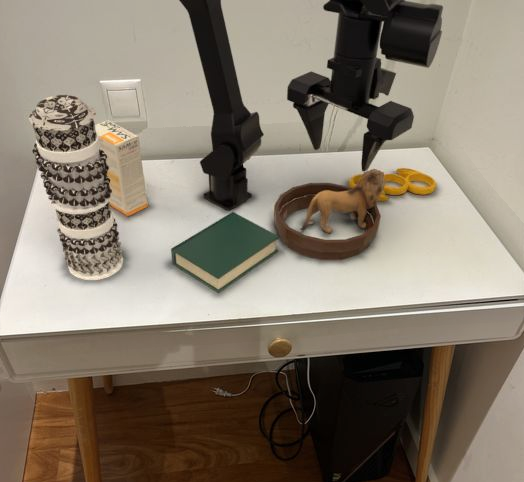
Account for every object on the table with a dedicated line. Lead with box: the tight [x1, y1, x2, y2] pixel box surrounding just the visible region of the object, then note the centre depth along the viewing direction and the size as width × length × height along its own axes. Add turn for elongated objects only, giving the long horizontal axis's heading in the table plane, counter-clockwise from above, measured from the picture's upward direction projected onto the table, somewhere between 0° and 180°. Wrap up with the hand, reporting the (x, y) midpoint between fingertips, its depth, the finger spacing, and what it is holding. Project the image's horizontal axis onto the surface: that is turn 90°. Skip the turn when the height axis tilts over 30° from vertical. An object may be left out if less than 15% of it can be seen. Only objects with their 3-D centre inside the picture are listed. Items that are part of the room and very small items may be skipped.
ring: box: [273, 182, 382, 261], centre depth 95 cm, size 17×17×4 cm
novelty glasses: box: [348, 167, 437, 202], centre depth 106 cm, size 17×2×10 cm
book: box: [170, 211, 280, 294], centre depth 89 cm, size 10×14×3 cm
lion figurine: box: [299, 168, 386, 234], centre depth 94 cm, size 15×5×9 cm, turn 110°
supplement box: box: [95, 119, 149, 217], centre depth 95 cm, size 8×5×13 cm, turn 47°
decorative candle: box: [28, 94, 124, 281], centre depth 79 cm, size 9×9×25 cm
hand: (340, 159), depth 87 cm, fingers open, 9 cm apart
